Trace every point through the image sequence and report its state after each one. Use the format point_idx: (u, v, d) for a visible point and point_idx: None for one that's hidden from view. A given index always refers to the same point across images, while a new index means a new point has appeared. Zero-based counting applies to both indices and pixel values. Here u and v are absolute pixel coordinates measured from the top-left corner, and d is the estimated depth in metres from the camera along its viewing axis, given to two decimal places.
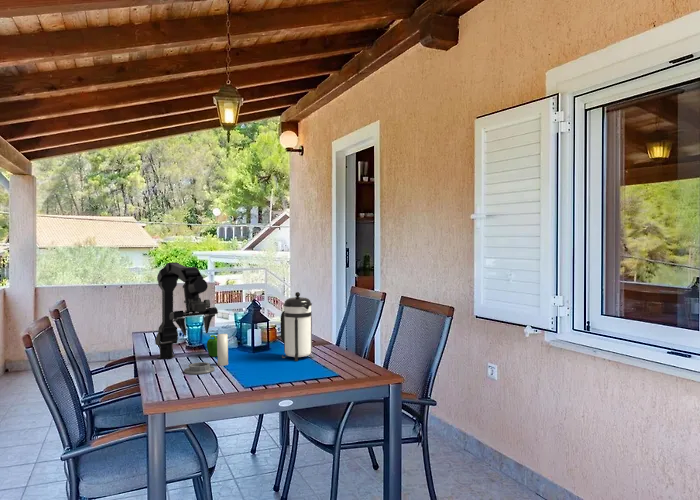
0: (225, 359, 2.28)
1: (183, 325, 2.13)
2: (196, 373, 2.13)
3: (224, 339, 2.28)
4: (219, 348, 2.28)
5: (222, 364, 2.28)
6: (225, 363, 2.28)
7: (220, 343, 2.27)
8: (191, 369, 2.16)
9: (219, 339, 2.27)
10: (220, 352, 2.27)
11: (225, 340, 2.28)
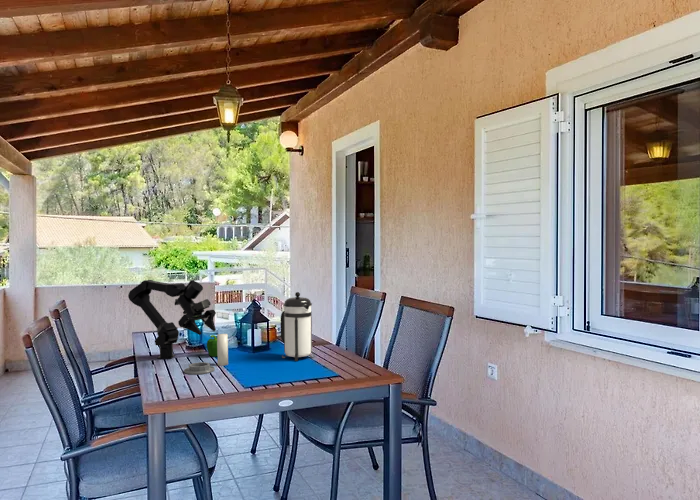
0: (225, 359, 2.28)
1: (195, 325, 2.29)
2: (196, 373, 2.13)
3: (224, 339, 2.28)
4: (219, 348, 2.28)
5: (222, 364, 2.28)
6: (225, 363, 2.28)
7: (220, 343, 2.27)
8: (191, 369, 2.16)
9: (219, 339, 2.27)
10: (220, 352, 2.27)
11: (225, 340, 2.28)
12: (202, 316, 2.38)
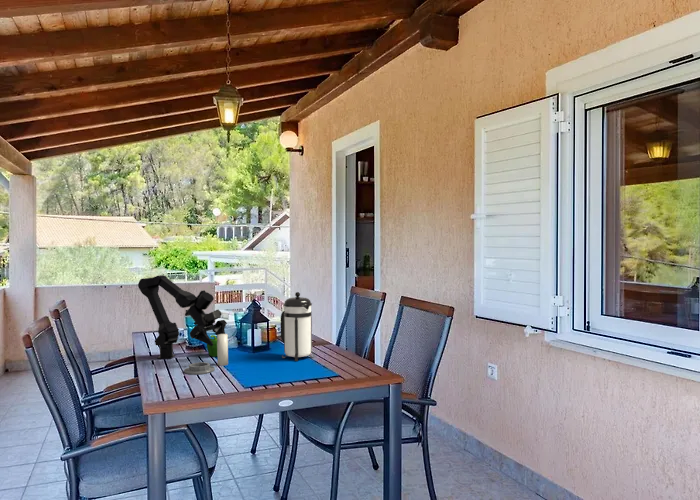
0: (225, 359, 2.28)
1: (207, 336, 2.26)
2: (196, 373, 2.13)
3: (224, 339, 2.28)
4: (219, 348, 2.28)
5: (222, 364, 2.28)
6: (225, 363, 2.28)
7: (220, 343, 2.27)
8: (191, 369, 2.16)
9: (219, 339, 2.27)
10: (220, 352, 2.27)
11: (225, 340, 2.28)
12: (213, 327, 2.35)
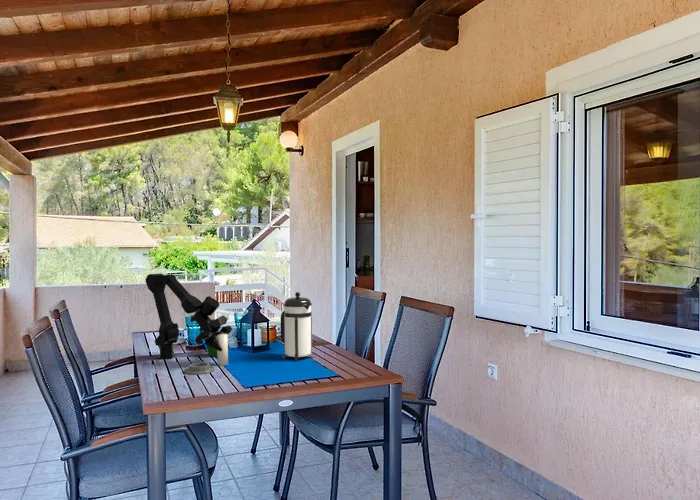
0: (225, 359, 2.28)
1: (216, 341, 2.27)
2: (196, 373, 2.13)
3: (224, 339, 2.28)
4: None
5: (222, 364, 2.28)
6: (225, 363, 2.28)
7: (220, 343, 2.27)
8: (191, 369, 2.16)
9: (219, 339, 2.27)
10: (220, 352, 2.27)
11: (225, 340, 2.28)
12: (219, 333, 2.34)
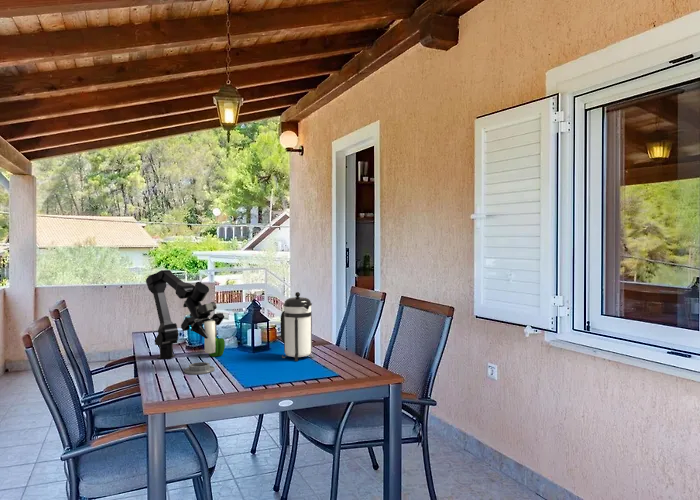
0: (211, 347, 2.21)
1: (202, 328, 2.20)
2: (196, 373, 2.13)
3: (210, 326, 2.21)
4: None
5: (208, 352, 2.21)
6: (211, 351, 2.21)
7: (206, 330, 2.21)
8: (191, 369, 2.16)
9: (205, 326, 2.21)
10: (206, 339, 2.21)
11: (211, 327, 2.21)
12: (209, 319, 2.27)
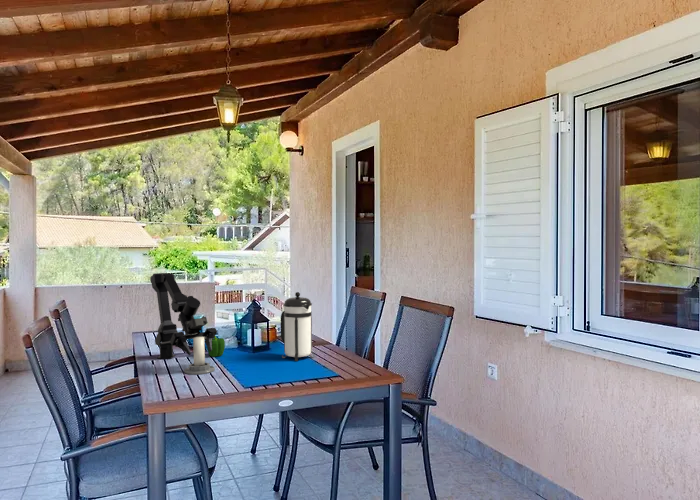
0: (199, 363, 2.17)
1: (185, 344, 2.15)
2: (196, 373, 2.13)
3: (198, 342, 2.17)
4: (194, 351, 2.17)
5: None
6: None
7: (194, 346, 2.17)
8: (191, 369, 2.16)
9: (194, 342, 2.17)
10: (194, 356, 2.17)
11: (199, 343, 2.17)
12: (200, 334, 2.24)
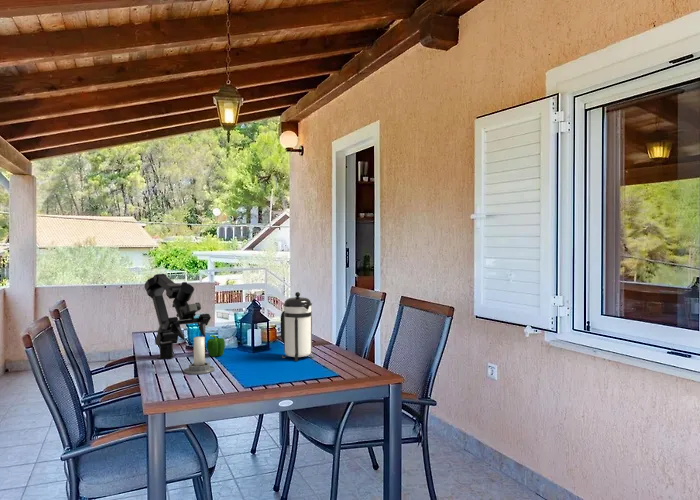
0: (200, 363, 2.17)
1: (179, 329, 2.19)
2: (196, 373, 2.13)
3: (198, 342, 2.17)
4: (194, 351, 2.17)
5: None
6: None
7: (195, 346, 2.17)
8: (191, 369, 2.16)
9: (194, 342, 2.17)
10: (194, 356, 2.17)
11: (200, 343, 2.17)
12: (194, 320, 2.28)
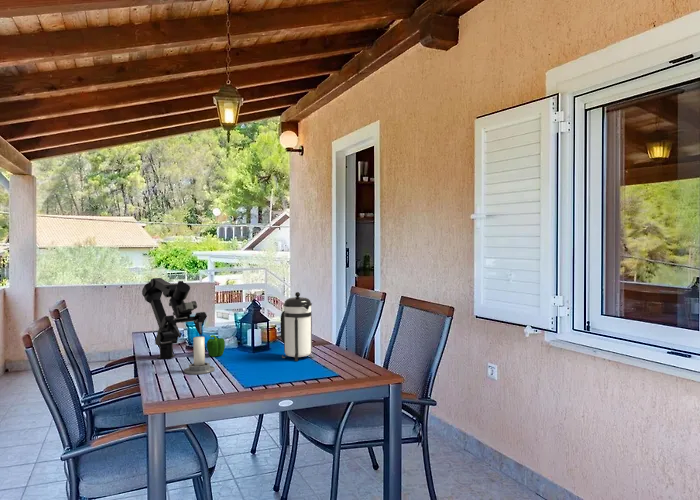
0: (199, 363, 2.17)
1: (176, 327, 2.22)
2: (196, 373, 2.13)
3: (198, 342, 2.17)
4: (194, 351, 2.17)
5: None
6: None
7: (194, 346, 2.17)
8: (191, 369, 2.16)
9: (194, 342, 2.17)
10: (194, 356, 2.17)
11: (200, 343, 2.17)
12: (190, 318, 2.30)
